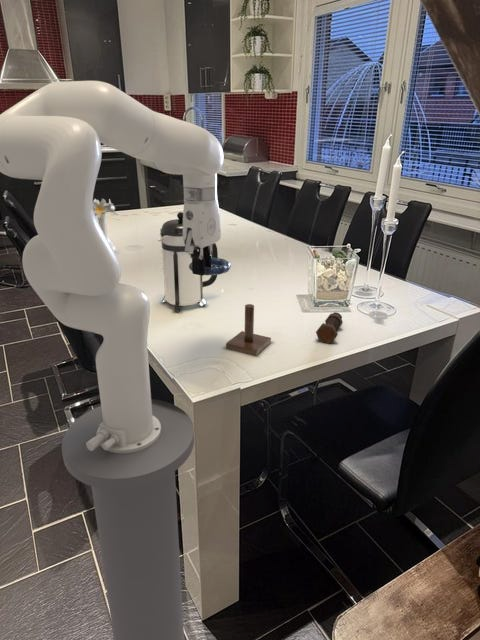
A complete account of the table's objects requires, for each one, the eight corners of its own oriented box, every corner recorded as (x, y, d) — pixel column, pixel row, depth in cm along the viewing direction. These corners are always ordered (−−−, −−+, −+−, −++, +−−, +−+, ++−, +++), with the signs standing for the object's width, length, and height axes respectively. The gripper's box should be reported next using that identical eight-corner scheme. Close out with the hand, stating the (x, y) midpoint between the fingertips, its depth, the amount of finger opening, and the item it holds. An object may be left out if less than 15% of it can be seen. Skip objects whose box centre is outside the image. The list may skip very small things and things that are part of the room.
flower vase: (111, 250, 215) (105, 194, 205) (126, 259, 201) (121, 200, 191) (83, 254, 208) (76, 196, 198) (97, 263, 194) (90, 202, 184)
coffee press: (200, 315, 144) (197, 218, 132) (153, 309, 148) (146, 214, 137) (218, 297, 159) (218, 208, 148) (175, 292, 164) (171, 205, 152)
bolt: (338, 328, 141) (327, 347, 128) (324, 318, 141) (312, 336, 128) (349, 314, 138) (339, 332, 125) (335, 304, 138) (324, 321, 125)
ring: (218, 278, 109) (218, 270, 109) (181, 272, 114) (181, 264, 113) (237, 267, 118) (238, 260, 117) (202, 262, 122) (202, 254, 121)
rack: (256, 355, 120) (257, 314, 115) (226, 348, 124) (225, 308, 119) (270, 342, 127) (272, 303, 123) (241, 335, 131) (242, 297, 127)
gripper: (195, 200, 97) (197, 284, 104) (231, 191, 110) (231, 266, 117) (165, 198, 100) (170, 279, 107) (204, 189, 113) (205, 262, 121)
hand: (202, 272), depth 112 cm, fingers closed on ring, 2 cm apart
